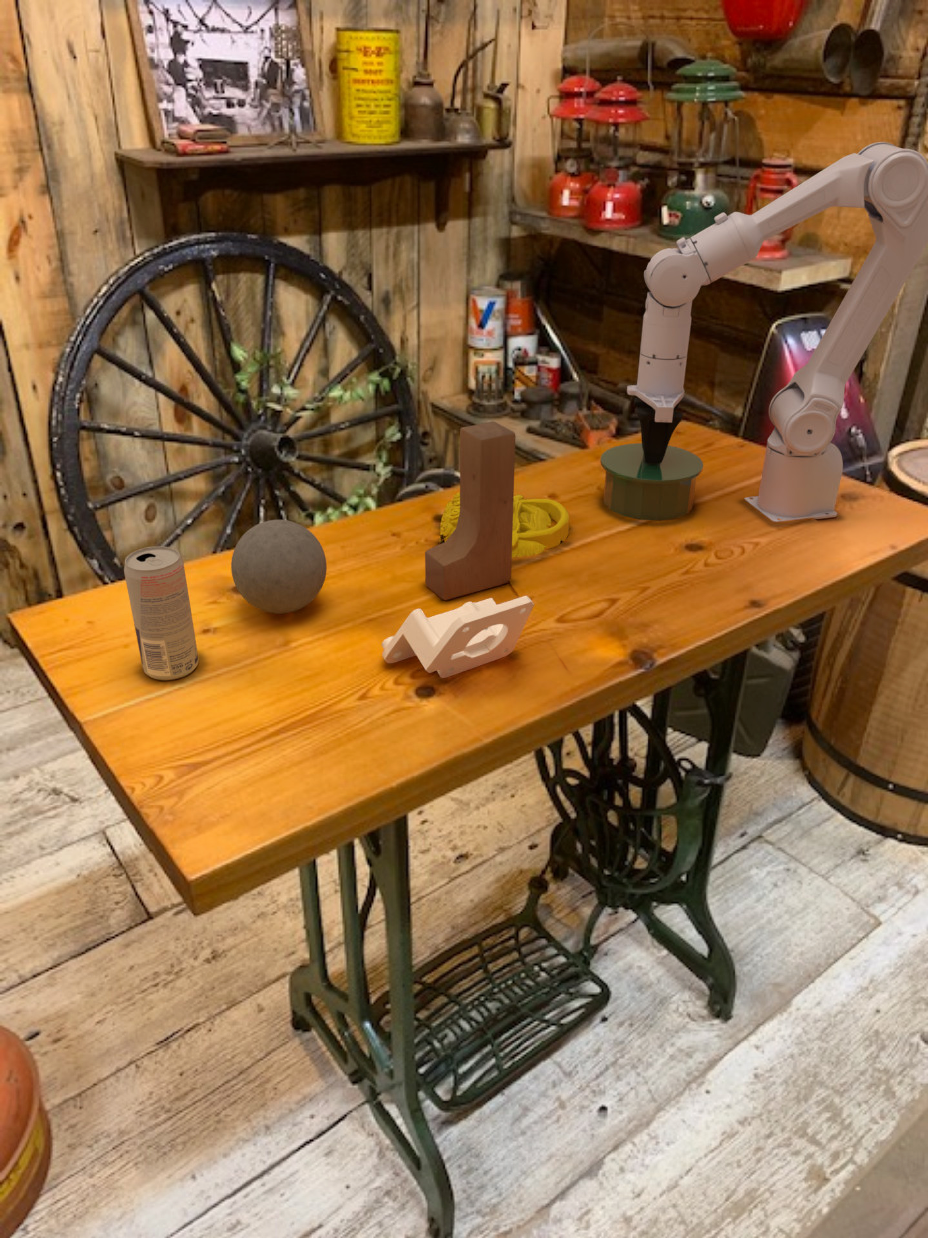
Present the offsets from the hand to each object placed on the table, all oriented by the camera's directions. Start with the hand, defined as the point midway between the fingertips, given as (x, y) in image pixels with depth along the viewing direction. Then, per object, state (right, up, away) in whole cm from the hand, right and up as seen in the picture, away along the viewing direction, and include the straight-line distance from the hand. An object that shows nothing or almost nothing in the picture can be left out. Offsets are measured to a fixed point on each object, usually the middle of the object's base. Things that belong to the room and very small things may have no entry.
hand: (652, 457), depth 128 cm
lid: (0, -1, 0) cm, 1 cm away
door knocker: (-19, -10, -4) cm, 22 cm away
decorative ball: (-44, -20, -21) cm, 53 cm away
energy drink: (-53, -26, -31) cm, 67 cm away
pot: (0, -6, +3) cm, 7 cm away
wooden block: (-24, -17, -16) cm, 33 cm away
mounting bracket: (-25, -26, -30) cm, 47 cm away
